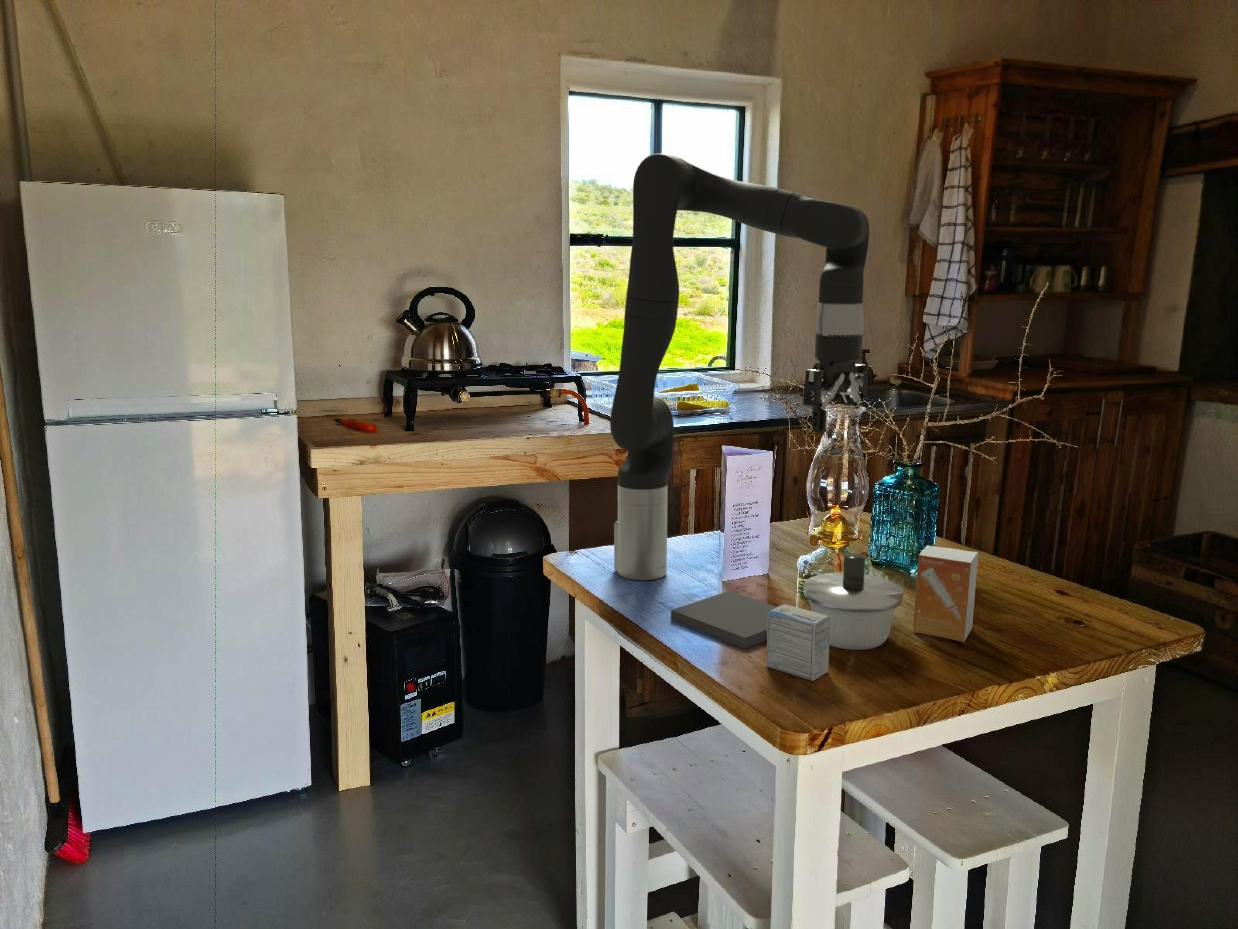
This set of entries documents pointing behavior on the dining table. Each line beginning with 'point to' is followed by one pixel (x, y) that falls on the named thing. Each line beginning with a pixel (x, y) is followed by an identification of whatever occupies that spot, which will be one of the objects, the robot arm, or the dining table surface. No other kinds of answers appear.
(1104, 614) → the dining table surface
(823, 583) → the lid
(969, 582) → the small box
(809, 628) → the medicine box
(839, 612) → the ramekin
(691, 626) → the mat
